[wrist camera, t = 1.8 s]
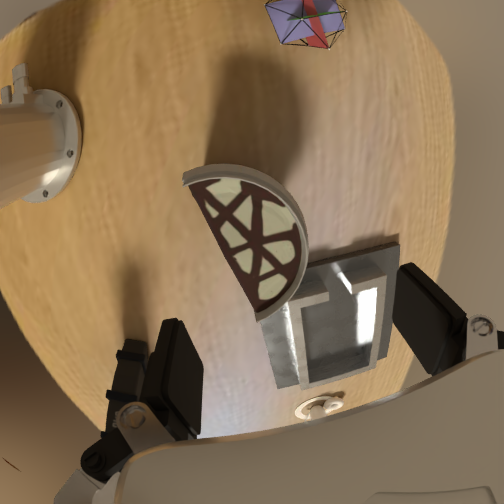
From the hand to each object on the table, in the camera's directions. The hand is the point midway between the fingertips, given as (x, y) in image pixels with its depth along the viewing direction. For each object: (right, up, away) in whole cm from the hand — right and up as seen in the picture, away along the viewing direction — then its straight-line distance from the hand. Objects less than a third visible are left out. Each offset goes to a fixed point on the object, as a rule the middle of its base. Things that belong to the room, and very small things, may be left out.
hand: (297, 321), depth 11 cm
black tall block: (-18, -15, +25) cm, 34 cm away
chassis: (+9, -7, +23) cm, 26 cm away
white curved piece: (+12, -27, +34) cm, 45 cm away
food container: (-2, +8, +16) cm, 18 cm away
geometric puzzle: (+3, +24, +8) cm, 26 cm away
